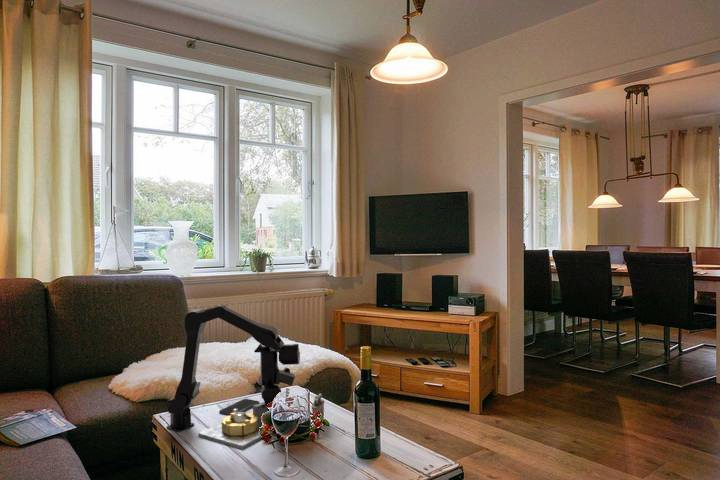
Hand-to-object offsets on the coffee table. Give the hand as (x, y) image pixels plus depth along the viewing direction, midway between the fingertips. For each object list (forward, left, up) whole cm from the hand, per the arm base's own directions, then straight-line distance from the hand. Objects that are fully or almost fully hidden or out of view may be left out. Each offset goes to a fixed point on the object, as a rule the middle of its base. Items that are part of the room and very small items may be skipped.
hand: (269, 410), depth 165 cm
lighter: (+14, +9, -6) cm, 17 cm away
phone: (-21, +8, -6) cm, 23 cm away
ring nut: (-4, -5, -4) cm, 8 cm away
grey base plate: (-5, -9, -5) cm, 12 cm away
